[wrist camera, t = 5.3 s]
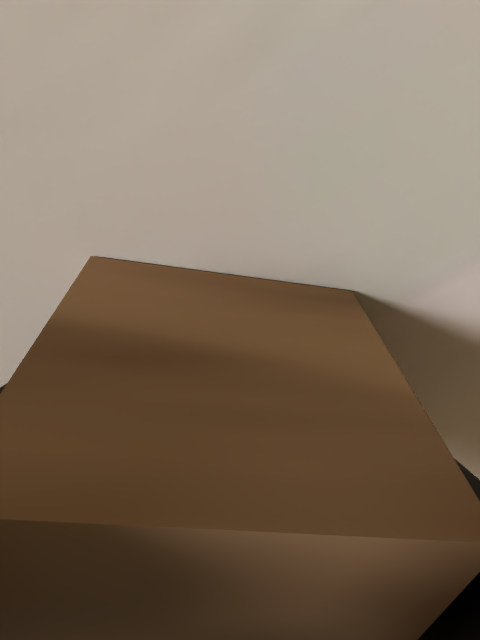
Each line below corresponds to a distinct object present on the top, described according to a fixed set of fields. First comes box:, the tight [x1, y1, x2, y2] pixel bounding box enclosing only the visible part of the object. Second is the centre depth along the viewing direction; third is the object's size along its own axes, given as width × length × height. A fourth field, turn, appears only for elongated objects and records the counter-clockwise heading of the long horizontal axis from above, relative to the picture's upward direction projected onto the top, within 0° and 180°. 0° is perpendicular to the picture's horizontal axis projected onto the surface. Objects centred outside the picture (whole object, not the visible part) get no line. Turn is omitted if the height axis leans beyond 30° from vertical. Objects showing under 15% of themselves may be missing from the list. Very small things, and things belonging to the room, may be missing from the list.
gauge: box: [0, 256, 480, 640], centre depth 9 cm, size 11×6×6 cm, turn 170°
